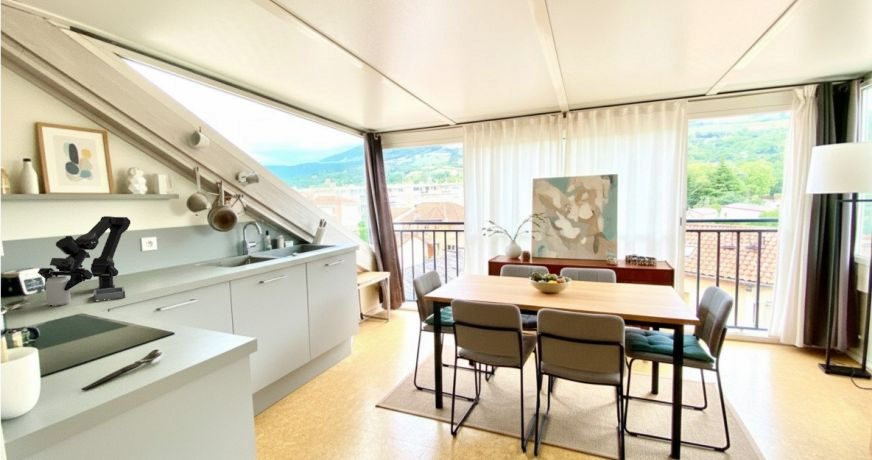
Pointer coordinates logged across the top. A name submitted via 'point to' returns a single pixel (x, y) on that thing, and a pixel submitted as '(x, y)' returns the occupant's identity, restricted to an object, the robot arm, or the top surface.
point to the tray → (109, 293)
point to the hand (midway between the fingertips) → (55, 290)
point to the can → (57, 291)
